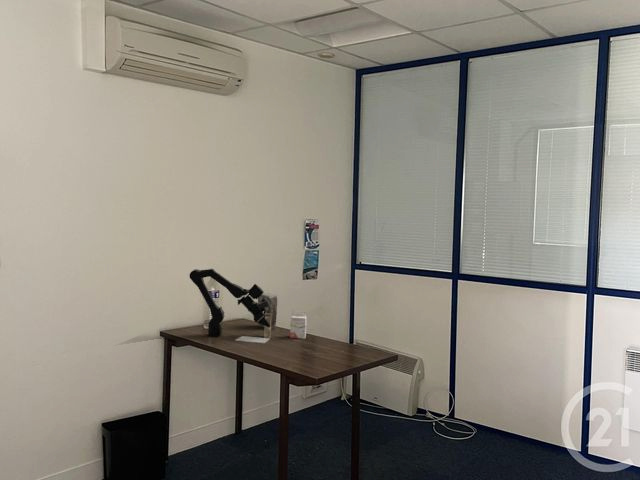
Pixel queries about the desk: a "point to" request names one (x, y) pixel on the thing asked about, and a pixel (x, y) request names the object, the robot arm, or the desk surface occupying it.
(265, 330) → the birch block
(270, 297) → the stone block
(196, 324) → the desk surface
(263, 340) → the grey board
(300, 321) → the ink cartridge box
